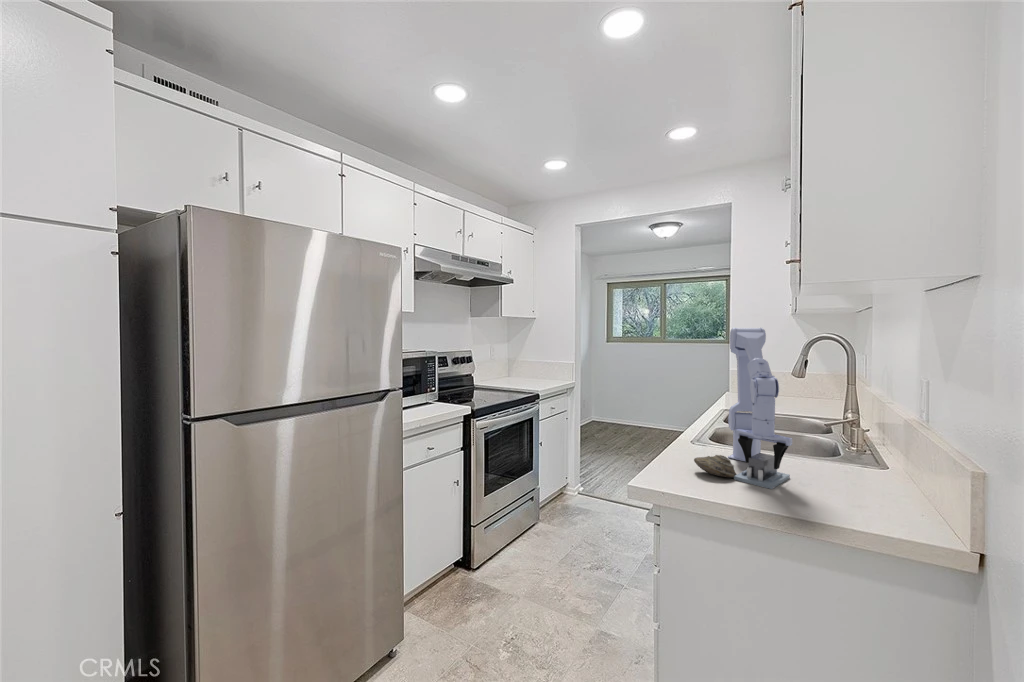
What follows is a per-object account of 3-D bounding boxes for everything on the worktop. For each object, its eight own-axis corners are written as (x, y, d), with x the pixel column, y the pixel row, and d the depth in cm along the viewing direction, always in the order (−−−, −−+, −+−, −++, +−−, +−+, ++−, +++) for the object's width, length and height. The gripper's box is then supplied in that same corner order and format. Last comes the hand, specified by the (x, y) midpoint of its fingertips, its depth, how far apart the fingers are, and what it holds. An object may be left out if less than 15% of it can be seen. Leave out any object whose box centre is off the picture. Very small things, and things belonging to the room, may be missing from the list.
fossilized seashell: (728, 477, 125) (722, 452, 127) (692, 482, 132) (687, 458, 134) (741, 476, 132) (735, 452, 134) (707, 480, 139) (701, 457, 141)
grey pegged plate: (753, 469, 137) (753, 456, 137) (789, 478, 130) (789, 464, 130) (733, 479, 128) (734, 465, 128) (771, 489, 121) (772, 474, 120)
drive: (759, 470, 133) (759, 452, 133) (774, 474, 130) (775, 455, 130) (748, 476, 128) (748, 457, 128) (764, 480, 125) (764, 461, 124)
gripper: (731, 416, 131) (730, 461, 132) (786, 425, 120) (785, 474, 121) (741, 413, 136) (740, 457, 136) (795, 421, 125) (794, 469, 125)
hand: (762, 465), depth 129 cm, fingers open, 7 cm apart
